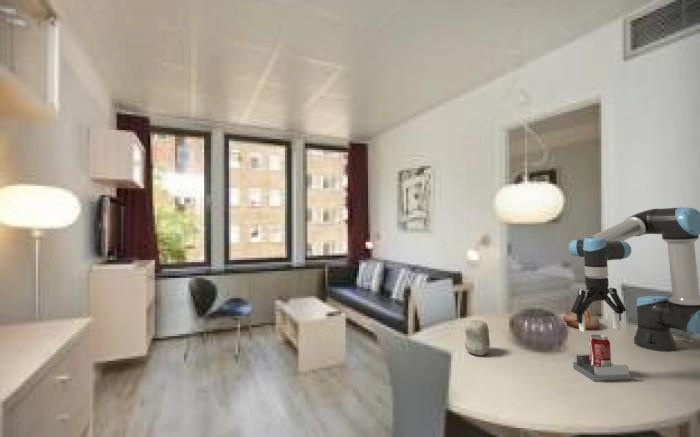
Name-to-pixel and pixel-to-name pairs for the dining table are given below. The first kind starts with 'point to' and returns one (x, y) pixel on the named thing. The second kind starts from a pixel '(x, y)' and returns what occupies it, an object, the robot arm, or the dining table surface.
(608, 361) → the soda can
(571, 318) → the bread
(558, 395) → the dining table surface
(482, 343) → the stone
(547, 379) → the dining table surface
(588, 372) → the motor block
